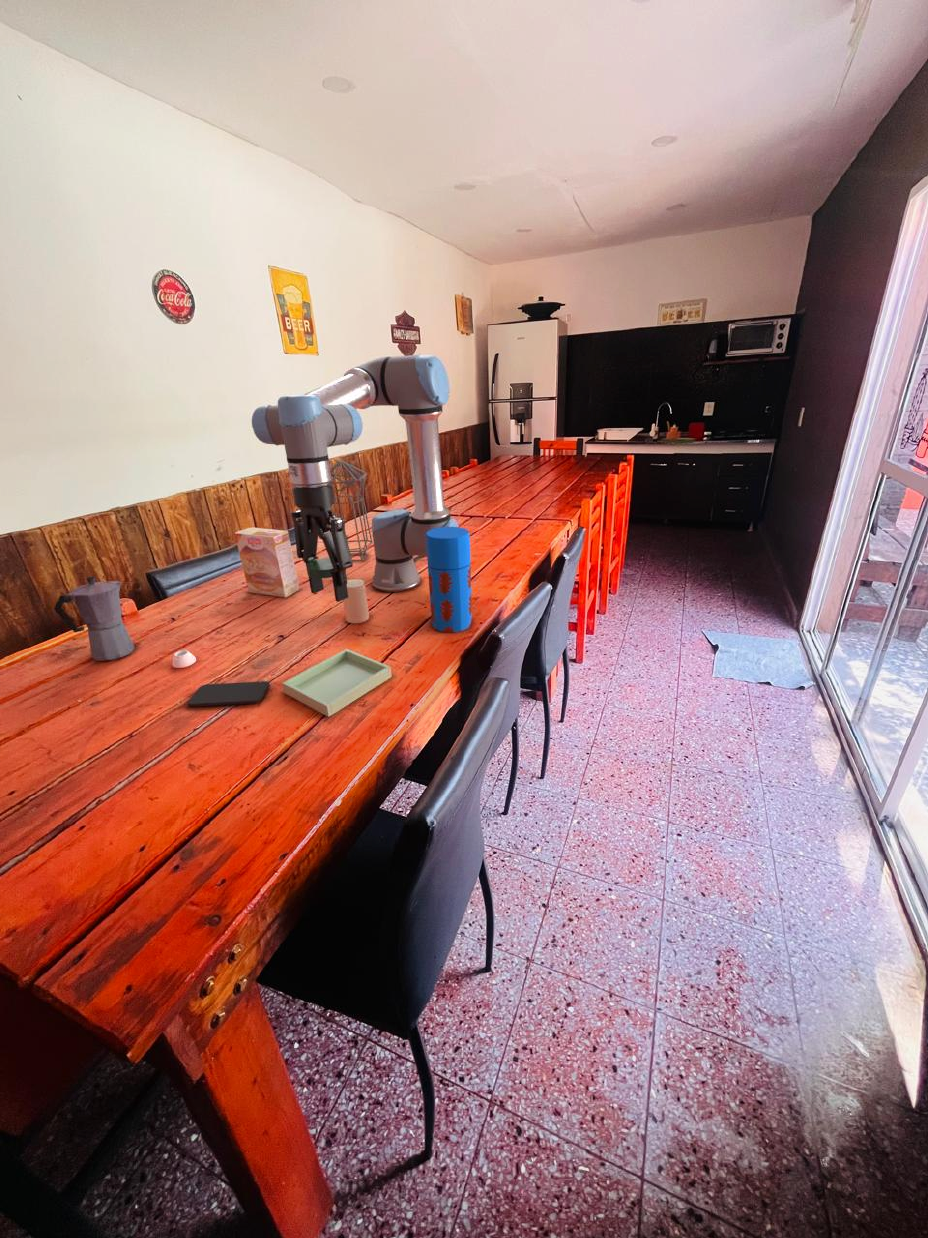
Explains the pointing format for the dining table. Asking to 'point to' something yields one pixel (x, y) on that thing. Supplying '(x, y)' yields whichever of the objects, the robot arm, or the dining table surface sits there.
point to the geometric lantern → (350, 470)
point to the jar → (356, 602)
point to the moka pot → (99, 618)
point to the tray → (337, 681)
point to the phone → (229, 694)
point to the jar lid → (320, 568)
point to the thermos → (449, 578)
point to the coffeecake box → (267, 561)
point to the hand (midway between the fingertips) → (329, 595)
